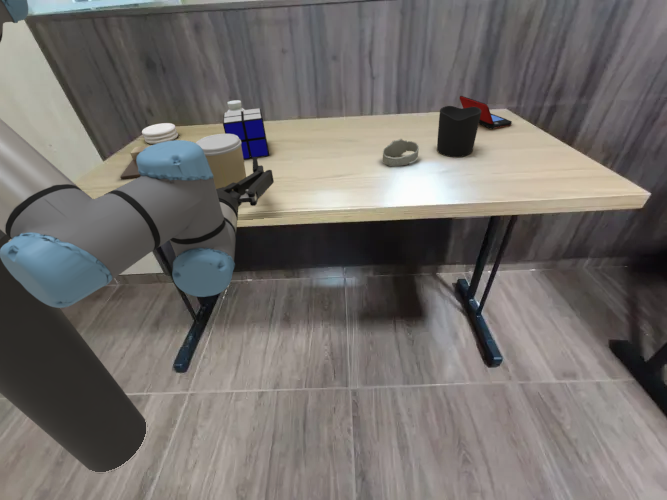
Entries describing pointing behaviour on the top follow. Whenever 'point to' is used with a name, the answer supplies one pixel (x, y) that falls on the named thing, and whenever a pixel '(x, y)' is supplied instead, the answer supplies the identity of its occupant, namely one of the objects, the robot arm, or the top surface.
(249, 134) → the puzzle cube
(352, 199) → the top surface
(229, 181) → the coffee cup
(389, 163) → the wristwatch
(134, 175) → the letter board
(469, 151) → the pen holder
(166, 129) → the coaster
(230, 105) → the pill bottle
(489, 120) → the handheld console
